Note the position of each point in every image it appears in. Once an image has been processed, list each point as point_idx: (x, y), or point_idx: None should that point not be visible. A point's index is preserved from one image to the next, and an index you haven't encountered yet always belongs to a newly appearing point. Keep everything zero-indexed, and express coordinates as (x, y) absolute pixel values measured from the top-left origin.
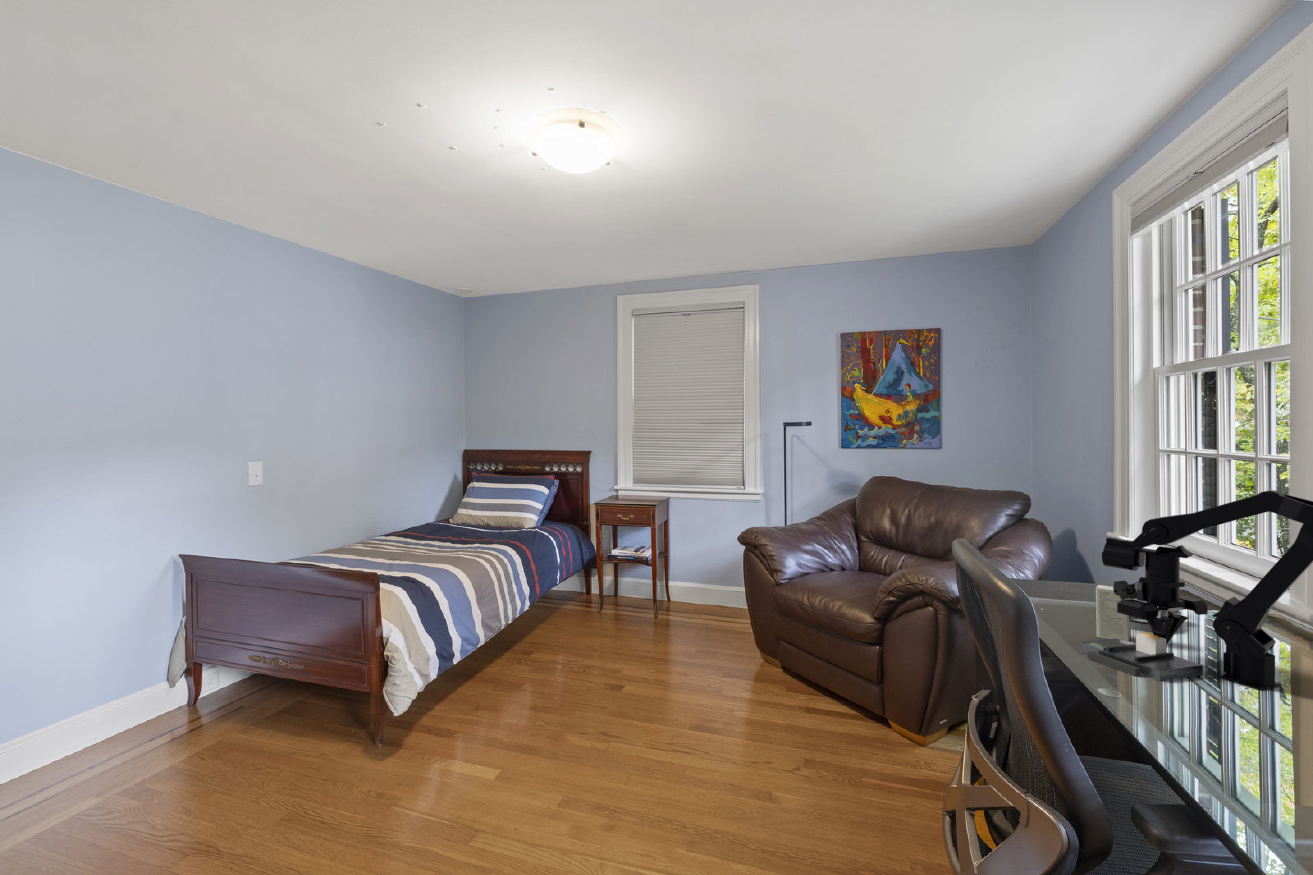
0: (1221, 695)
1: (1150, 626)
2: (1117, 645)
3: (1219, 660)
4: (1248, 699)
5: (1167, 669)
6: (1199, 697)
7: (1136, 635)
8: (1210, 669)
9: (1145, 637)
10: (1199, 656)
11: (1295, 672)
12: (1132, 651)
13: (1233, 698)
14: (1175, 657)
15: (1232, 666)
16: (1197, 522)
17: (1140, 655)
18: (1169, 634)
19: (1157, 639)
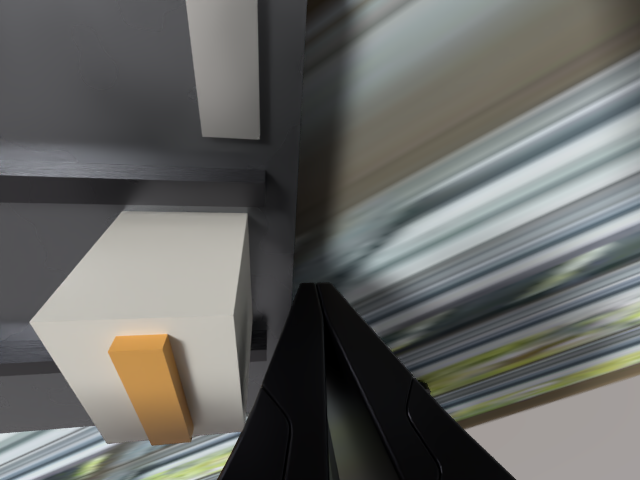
0: (152, 454)
1: (237, 443)
2: (7, 59)
3: (558, 291)
4: (206, 466)
5: (39, 429)
6: (55, 460)
7: (43, 312)
8: (387, 341)
9: (77, 387)
10: (561, 242)
11: (587, 384)
12: (49, 229)
13: (168, 463)
14: (267, 346)
15: (335, 458)
16: None
17: (51, 294)
18: (333, 435)
19: (141, 437)
